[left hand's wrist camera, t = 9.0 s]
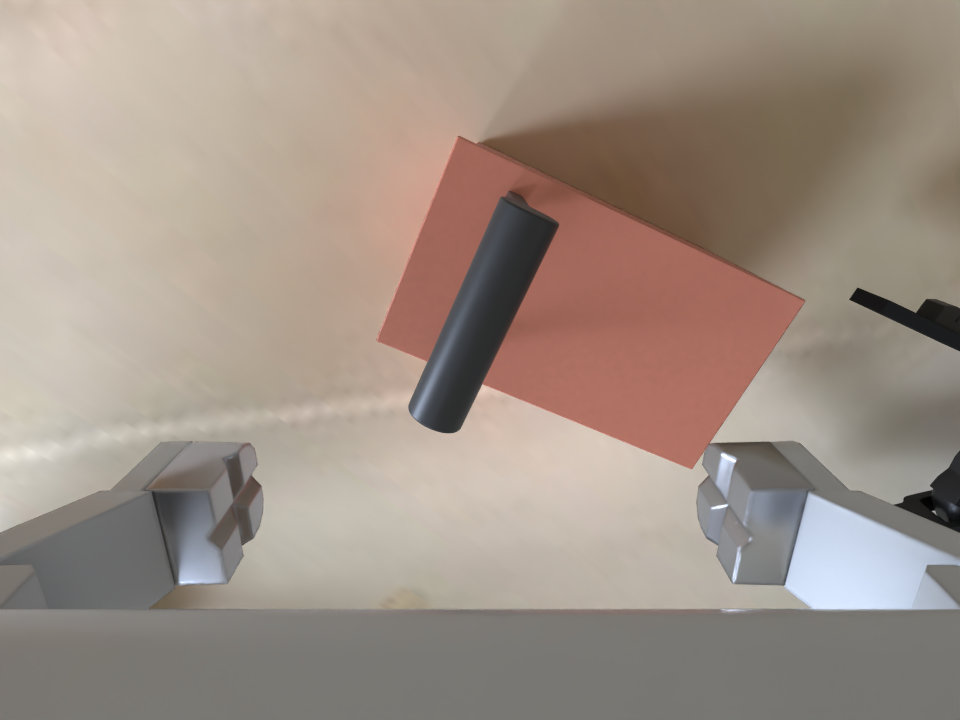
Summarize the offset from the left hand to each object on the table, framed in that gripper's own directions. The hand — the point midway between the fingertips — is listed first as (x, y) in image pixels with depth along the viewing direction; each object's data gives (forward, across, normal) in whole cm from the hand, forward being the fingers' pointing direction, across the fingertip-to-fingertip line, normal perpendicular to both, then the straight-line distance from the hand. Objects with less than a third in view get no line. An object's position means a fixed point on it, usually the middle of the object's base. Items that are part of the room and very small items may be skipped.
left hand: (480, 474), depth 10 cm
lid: (+17, -5, +2) cm, 18 cm away
